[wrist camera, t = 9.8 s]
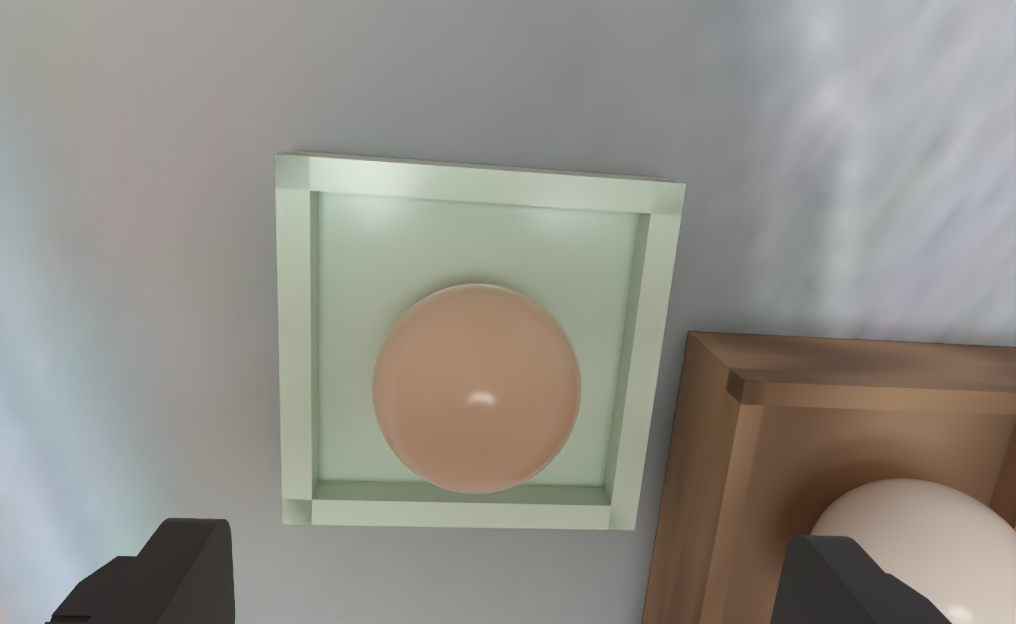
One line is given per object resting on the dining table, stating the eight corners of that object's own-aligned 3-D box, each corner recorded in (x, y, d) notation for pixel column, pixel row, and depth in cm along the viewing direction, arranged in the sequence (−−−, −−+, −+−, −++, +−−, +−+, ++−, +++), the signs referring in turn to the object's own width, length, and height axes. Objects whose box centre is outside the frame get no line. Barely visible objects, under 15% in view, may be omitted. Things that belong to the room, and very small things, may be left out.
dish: (663, 177, 18) (686, 183, 16) (619, 496, 21) (634, 530, 19) (292, 150, 17) (274, 154, 15) (297, 489, 20) (282, 524, 18)
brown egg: (572, 268, 18) (615, 324, 13) (554, 435, 19) (587, 541, 14) (385, 257, 17) (359, 311, 13) (381, 429, 19) (356, 537, 14)
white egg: (962, 445, 18) (1150, 565, 13) (917, 599, 19) (1071, 758, 14) (788, 439, 17) (916, 562, 13) (754, 598, 19) (858, 763, 14)
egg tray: (1202, 356, 21) (1362, 406, 17) (1042, 764, 26) (1142, 873, 22) (688, 331, 19) (744, 381, 16) (618, 773, 24) (648, 893, 20)
